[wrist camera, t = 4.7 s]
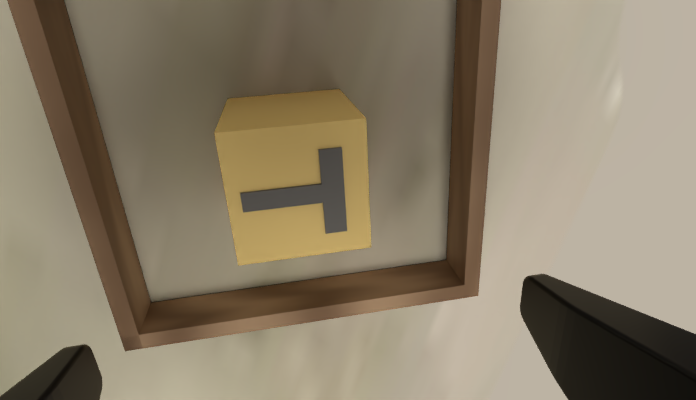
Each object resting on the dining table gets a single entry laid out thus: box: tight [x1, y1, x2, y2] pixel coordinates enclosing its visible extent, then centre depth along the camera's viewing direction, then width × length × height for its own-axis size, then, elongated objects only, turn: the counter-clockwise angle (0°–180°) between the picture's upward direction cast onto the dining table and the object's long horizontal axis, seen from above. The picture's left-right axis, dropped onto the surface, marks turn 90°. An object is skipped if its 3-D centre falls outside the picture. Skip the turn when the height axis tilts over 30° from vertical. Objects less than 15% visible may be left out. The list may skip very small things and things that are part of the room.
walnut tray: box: [7, 0, 501, 351], centre depth 20 cm, size 18×17×2 cm
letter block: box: [214, 89, 371, 266], centre depth 18 cm, size 5×5×6 cm
